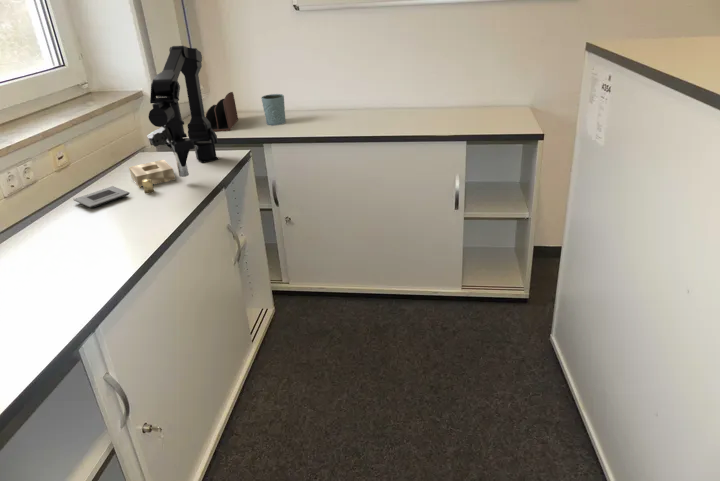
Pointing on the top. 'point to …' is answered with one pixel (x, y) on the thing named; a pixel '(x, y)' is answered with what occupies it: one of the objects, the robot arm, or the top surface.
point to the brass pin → (148, 185)
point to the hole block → (152, 172)
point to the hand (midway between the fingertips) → (182, 165)
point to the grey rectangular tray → (101, 196)
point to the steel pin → (181, 168)
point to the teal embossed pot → (274, 109)
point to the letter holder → (223, 114)
